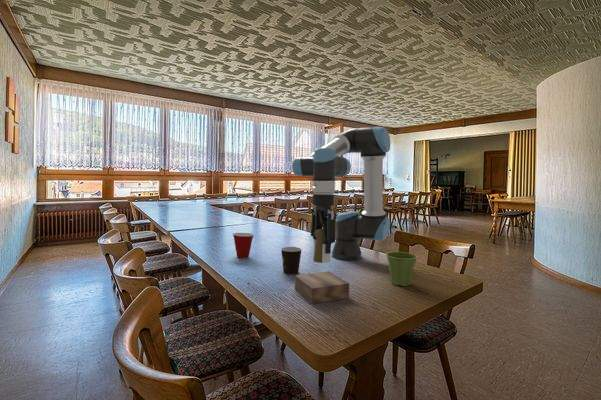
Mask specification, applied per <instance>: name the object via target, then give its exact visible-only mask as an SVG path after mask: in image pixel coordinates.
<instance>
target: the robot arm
mask: <svg viewBox="0 0 601 400" xmlns="http://www.w3.org/2000/svg"><path fill="white" fill-rule="evenodd" d="M390 137H391V135H390V134H389V132H388V129H387V128H386V127H385V126H369V127H355V128H354V127H353V128H350V129H347V130H345V131H342V132H340V133H339V134H337V135H335V136H334V137H333V138H332V140H331V141H329V142H328V143H326V144H324V145H323V146H321V147H318V148H315V149H314V150H313V152H311V153H310V154H308V155H306V156H298V157H297V156H296V157H295V158H294V159H293V160H292V163H291V168H292V173H293V174H294V175H295V176H297V177H312V185H311V186H312V192H313V194H312V205H313V206H315V209H311V212H310V213H311V224H310V236H311V237H312V239H313V253H314V252H315V246H316V239H317V238H316V237H315V232H316V230H318V229H323V236H324V242H323V255H322V263H321V264H327V263H331V258H334V259H338V260H344V261H354V260H360V259H362V250H361V246H360V244H359V239H365V240H372V241H374V242H375V241H384V240H385V239H386V238H387V237H388V234H389V230H390V226H391V220H390V217H388V216H386V215H387V212H386V211H385V210H384V209H383V208H384V207H383V201H384V199H383V195H384V194H383V187H384V186H383V184H384V183H383V172H384V170H383V168H384V167H383V165H384V163H383V160H384V159H385V157H386V156H387V153H388V152H390V149H391V138H390ZM354 153H355V154H356V153H359V154H360V158H361V159H362V160H363V186H364V187H363V190H364V191H363V192H364V193H363V195H364V196H363V201H364V202H363V203H364V209H363V210H362V211H361V213H360V211H347V212H345V211H344V212H339V213H335V212H332V208H331V206H334V205H335V195H334V194H335V192H336V191H335V190H336V188H335V187H336V186H335V185H336V178H342V177H346V176H348V175H349V174H350V172H351V168H352V165H351V162H350V160H349V159H347V158H346V157H344V155H347V154H354ZM332 244H333V247H332ZM313 259H314V254H313Z"/></svg>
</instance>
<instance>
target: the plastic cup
mask: <svg viewBox="0 0 601 400" xmlns="http://www.w3.org/2000/svg"><path fill="white" fill-rule="evenodd" d="M232 236H233V240H234V246H235V247H234V248H235V252H236V257H237V259H238V258H239V259H248V258H249V256H250V253H251V248H252V243H253V239H254V236H255V234H254V233H249V232H233V233H232Z"/></svg>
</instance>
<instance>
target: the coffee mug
mask: <svg viewBox="0 0 601 400" xmlns="http://www.w3.org/2000/svg"><path fill="white" fill-rule="evenodd" d="M280 250H281V262H282V269H283V272H282V273H283V274H285V275H298V274H299V271H300V263H301V257H302V256H301V255H302V250H303V249H302V248H301V247H298V246H285V247H281V249H280Z"/></svg>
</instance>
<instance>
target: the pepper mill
mask: <svg viewBox="0 0 601 400" xmlns="http://www.w3.org/2000/svg"><path fill="white" fill-rule="evenodd" d="M315 237H316V238H317V239H316V246H315V252H314V251H313V255H314V258H313V262H316V263H320V264H323V263H322V255H323V242H324V236H323V228H322V229H318V230H316V232H315Z"/></svg>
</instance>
